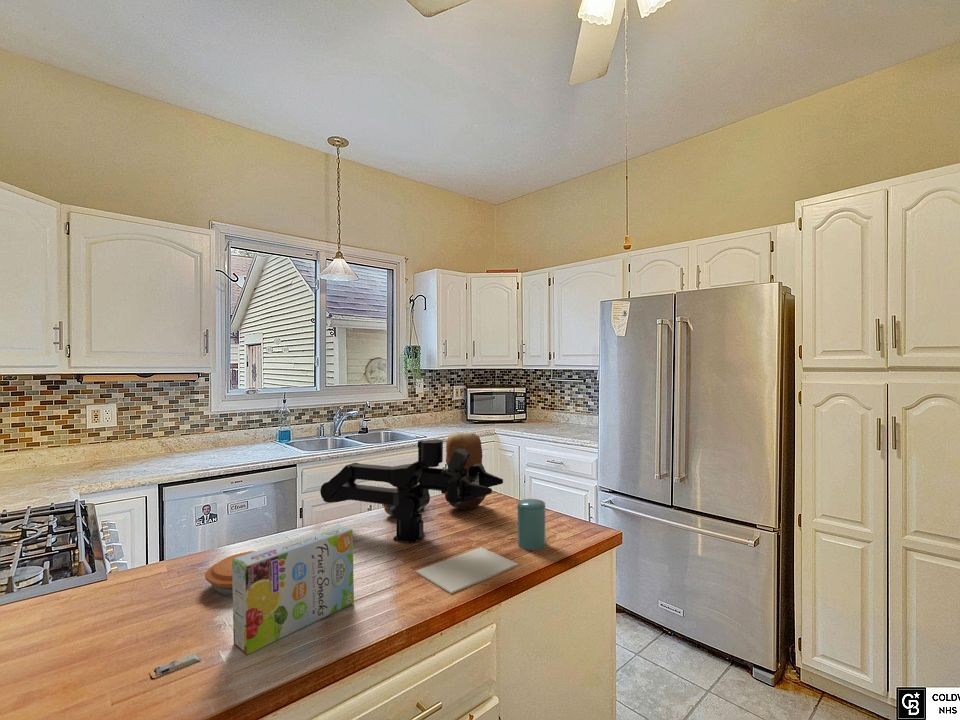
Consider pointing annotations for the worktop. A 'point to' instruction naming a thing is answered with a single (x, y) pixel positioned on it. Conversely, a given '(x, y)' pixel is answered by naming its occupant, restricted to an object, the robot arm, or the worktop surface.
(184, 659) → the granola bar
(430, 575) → the grey mat
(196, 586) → the worktop surface
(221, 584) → the pie
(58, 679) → the worktop surface
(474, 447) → the butternut squash
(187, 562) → the worktop surface
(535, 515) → the teal cover
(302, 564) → the snack box
